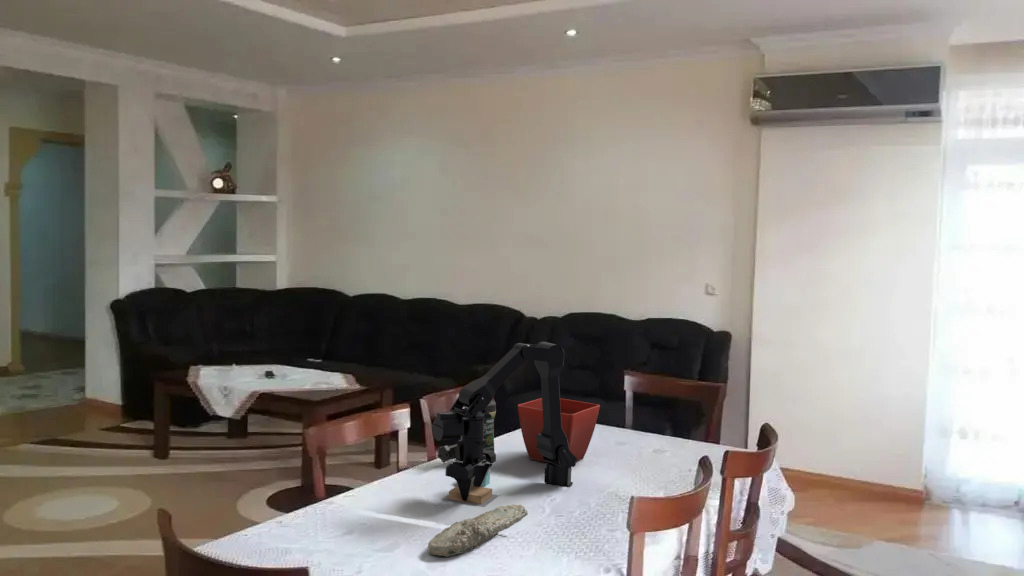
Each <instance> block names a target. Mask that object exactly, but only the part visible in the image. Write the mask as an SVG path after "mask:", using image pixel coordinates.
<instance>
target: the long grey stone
mask: <svg viewBox="0 0 1024 576" xmlns="http://www.w3.org/2000/svg"><path fill="white" fill-rule="evenodd" d="M528 514H529V513H528V510H527V509H526V507H525V506H523V505H522V504H510V505H509V504H508V505H500V506H498V507H495V508H494V509H492V510H489V511H485V512H484V513H481V514H479V515H478V516H476V517H473V518H467V519H463V520H461V521H456V522H454V523H452V524H450V526H449V527H445V528H444V529H443V531H441V532H439V533H437V534H436V535H435V536H434V537H432V538H431V539H430V540H429V542H428V544H427V550H428V553H429V554H430V555H434V556H439V557H447V558H449V557H451V556H455V555H459V554H460V555H461V554H463V553H464V554H465V553H467V552H468V551H470V550H472V549H479V547H480V546H483V543H485V542H487V541H490V540H491V539H493V537H495V535H497V534H499V533H500V532H502V531H504V530H505V529H509V528H511V526H513V525H515V524H516V523H518V522H519V521H522V519H524V518H525V517H526V516H528Z"/></svg>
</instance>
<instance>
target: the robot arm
mask: <svg viewBox="0 0 1024 576" xmlns="http://www.w3.org/2000/svg"><path fill="white" fill-rule="evenodd" d="M528 360H529V361H530V360H532V361H534V366H535V367H536V371H537V372H538V373H539V376H540V385H541V386H540V387H541V398H542V408H543V430H542V432H541V434H537V435H536V438H537V447H536V448H538V449H539V453H540V454H541V455H542V457H543V461H546V462H545V463H546V466H545V468H544V476H543V477H544V478H543V482H544V483H545V484H544V485H550V486H556V487H563V488H570V487H571V486H572V485H574V482H573V481H572V467H576V464H577V462H578V461H577V458H576V457H575V456H574V455H573V454H572V453H571V451H570V450H569V444H568V440H567V437H566V435H565V433H564V431H563V429H562V426H561V407H560V398H561V395H560V393H561V391H560V389H561V388H560V375H561V372H562V370H563V367H564V365H565V364H564V361H565V351H564V348H562V346H560V345H559V344H555V343H551V342H547V341H540V342H538V343H537V344H533V343H532V344H531V343H521V342H518V343H515V344H514V345H513V346H512V348H511V349H510V350H509V351H508V352H506V354H505V355H504V356H503V357H502V358H501V359H499V361H498V362H497V363H495V365H494V366H492V368H490V370H488V371H487V372H486V373H485V374H484V375H483V376H481V377H480V378H478V379H475V380H472V381H471V382H469V383H468V384H466V385H465V386H463V387H462V388H461V389H460V391H459V392H458V397H457V398H456V400H455V401H454V403H453V404H452V406H451V407H450V409H449V411H448V412H437V413H436V417H435V418H434V420H433V423H432V424H431V430H432V437H434V439H435V440H436V441H438V442H439V441H446V440H447V441H449V440H454V439H459V440H457V443H456V444H452V445H447V444H446V445H444V446H440V447H438V450H437V453H438V454H437V458H438V459H440V460H441V462H442V463H446V462H447V461H452V460H455V461H453V462H452V463H449V464H447V466H446V467H445V475H444V476H446V477H450V478H452V479H453V480H454V481H456V484H457V486H458V487H459V490H460V493H461V497H462V500H464V501H466V500H467V498H468V496H469V493H470V490H471V487H472V484H473V486H478V487H481V486H482V484H483V482H484V480H485V478H486V476H487V474H488V472H490V470H491V468H492V467H493V463H495V462H496V461H497V454H496V452H495V450H494V451H492V450H485V449H483V445H484V444H486V439H483V438H484V419H486V418H491V417H492V415H490V414H489V413H488V412H487V410H486V409H485V408H486V407H487V406H488V405H489V403H490V402H491V401H492V399H493V400H494V396H495V394H496V392H497V390H498V389H499V387H501V386H502V385H503V384H504V383H505V381H507V380H508V379H509V378H510V377H511V376H512V375H513V374H514V373H515V372H517V370H518V369H519V368H520V367H521V366H522V365H523V364H524V363H525V362H526V361H528ZM465 408H468V410H465ZM486 460H488V461H486ZM488 462H489V463H488ZM547 462H548V463H547Z"/></svg>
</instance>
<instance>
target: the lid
mask: <svg viewBox="0 0 1024 576" xmlns="http://www.w3.org/2000/svg"><path fill="white" fill-rule="evenodd" d="M492 494H493V488H490V487H486V486H485V487H478V486H472V487H471V490H470V493H469V496H468V498H467V500H466V501H465V502H471V503H477V504H482V503H483V502H485V501H486V500H488V499H489V498H490V497H492ZM448 495H449V499H452V500H458V501H464V500H462V497H461V493H460V490H459V487H458V485H456V486H455V487H453V488H451V489H450V490H449V491H448Z"/></svg>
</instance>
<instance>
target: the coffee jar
mask: <svg viewBox="0 0 1024 576" xmlns="http://www.w3.org/2000/svg"><path fill="white" fill-rule="evenodd" d="M496 407H497V403H496V401H495V399H494V398H493V399H492V401H491V402H490V403H489V405H488V406H487V407H486V408H485V409H486V410H487V412H488V413H489V414H490V415H492V417H491V418H486V419H484V438H483V439H486V444H484V445H483V449H485V450H492V451H494V452H495V436H494V435H495V434H494V433H495V432H494V431H495V429H494V425H495V423H494V422H495V417H496V412H497V408H496ZM464 409H465V410H468V408H465V407H464ZM486 461H487V462H489V460H486Z"/></svg>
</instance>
